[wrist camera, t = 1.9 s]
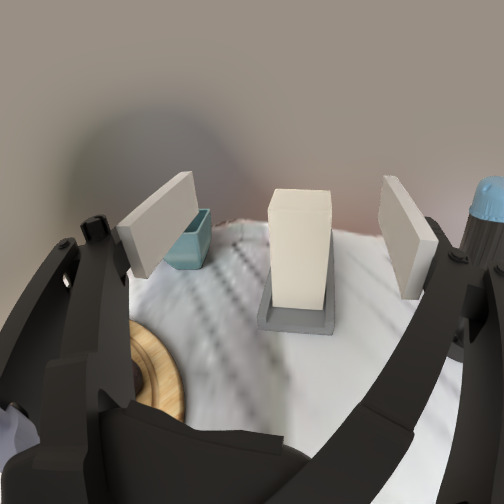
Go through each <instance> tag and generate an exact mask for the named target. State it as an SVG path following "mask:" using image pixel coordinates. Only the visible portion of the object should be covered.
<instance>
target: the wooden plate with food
mask: <svg viewBox="0 0 504 504" xmlns="http://www.w3.org/2000/svg"><path fill="white" fill-rule="evenodd" d="M129 325H130V345H131V359H132V370H133V380H134V389H135V397H136V401H137V402H139V403H142V404H145V405H148V406H151V407H154V408H157V409H160V410H163V411H164V412H166V413H167V414H169V415H171V416H172V417H174V418H176V419H177V420H179V421H181V422H182V423H184V414H185V401H184V390H183V384H182V379H181V376H180V373H179V370H178V368H177V366H176V364H175V361H174V359H173V357H172V356H171V354H170V353H169V351H168V349H167V348H166V347H165V345H164V344H163V343H162V342H161V341H160V340H159V339H158V338H157V337H156V336H155V335H154V334H153V333H152V332H150V331H149V330H148V329H146V328H145V327H143V326H142V325H140V324H138V323H136V322H134V321H132V320H129ZM11 404H12V403H11ZM39 437H40V436H39Z"/></svg>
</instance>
